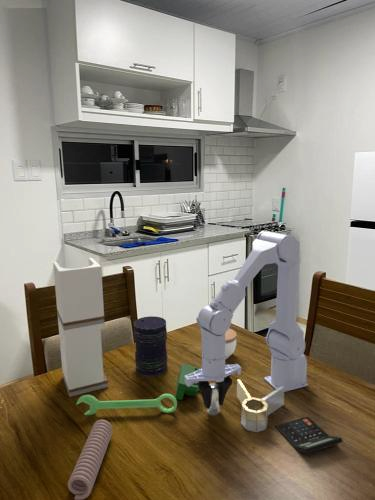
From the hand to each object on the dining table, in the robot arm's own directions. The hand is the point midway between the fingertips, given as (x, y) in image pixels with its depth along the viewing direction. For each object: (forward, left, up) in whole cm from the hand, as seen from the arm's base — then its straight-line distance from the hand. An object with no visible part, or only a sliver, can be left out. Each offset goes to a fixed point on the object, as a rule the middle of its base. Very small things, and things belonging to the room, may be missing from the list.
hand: (213, 404), depth 96 cm
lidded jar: (-15, -26, -2) cm, 30 cm away
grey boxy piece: (+28, -27, -2) cm, 39 cm away
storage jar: (+8, -27, -2) cm, 28 cm away
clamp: (+2, -11, -2) cm, 12 cm away
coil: (+31, +6, -2) cm, 31 cm away
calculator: (-15, +17, -3) cm, 23 cm away
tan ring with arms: (-11, +4, -2) cm, 12 cm away
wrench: (+20, -8, -2) cm, 22 cm away
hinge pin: (0, 0, -2) cm, 2 cm away
